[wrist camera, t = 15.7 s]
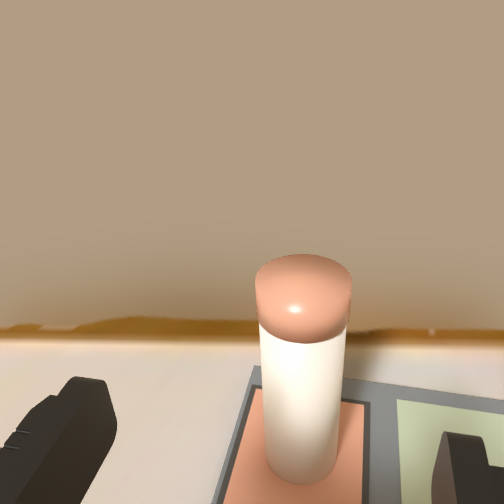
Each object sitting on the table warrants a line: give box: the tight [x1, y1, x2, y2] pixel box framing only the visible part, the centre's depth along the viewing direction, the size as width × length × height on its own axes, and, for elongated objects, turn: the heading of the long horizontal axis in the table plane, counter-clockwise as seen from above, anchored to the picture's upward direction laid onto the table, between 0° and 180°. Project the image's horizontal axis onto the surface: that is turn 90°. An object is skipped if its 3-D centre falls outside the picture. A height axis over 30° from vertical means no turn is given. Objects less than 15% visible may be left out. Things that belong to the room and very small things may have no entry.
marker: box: [255, 254, 352, 485], centre depth 26 cm, size 5×5×13 cm
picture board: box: [211, 365, 504, 504], centre depth 29 cm, size 18×14×1 cm
